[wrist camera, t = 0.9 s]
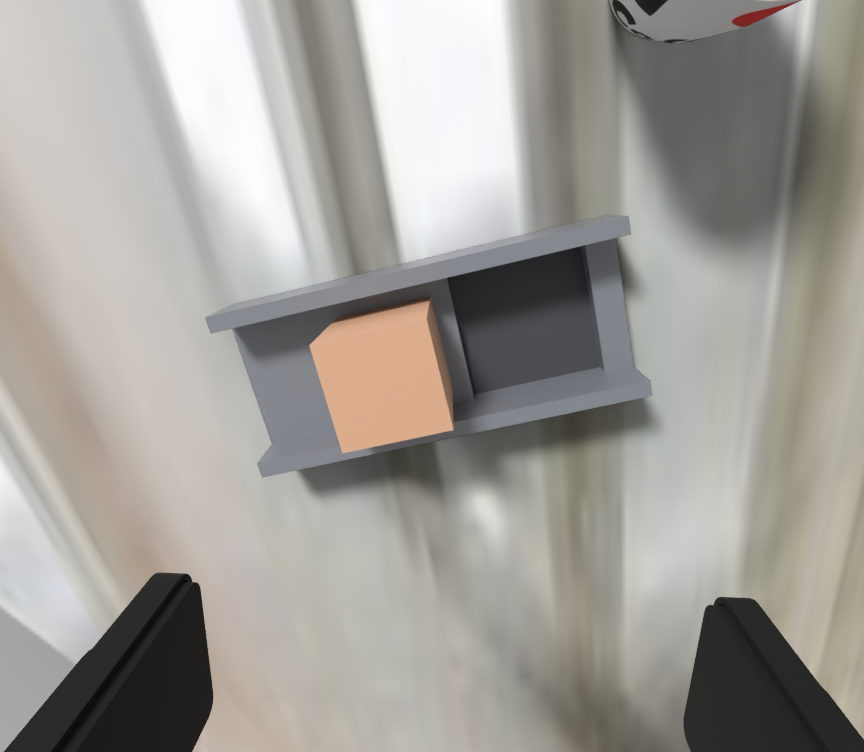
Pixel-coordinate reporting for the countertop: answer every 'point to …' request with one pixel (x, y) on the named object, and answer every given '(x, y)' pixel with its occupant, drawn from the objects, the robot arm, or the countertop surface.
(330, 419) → the grey railed tray
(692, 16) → the cup
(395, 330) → the block
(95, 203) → the countertop surface
